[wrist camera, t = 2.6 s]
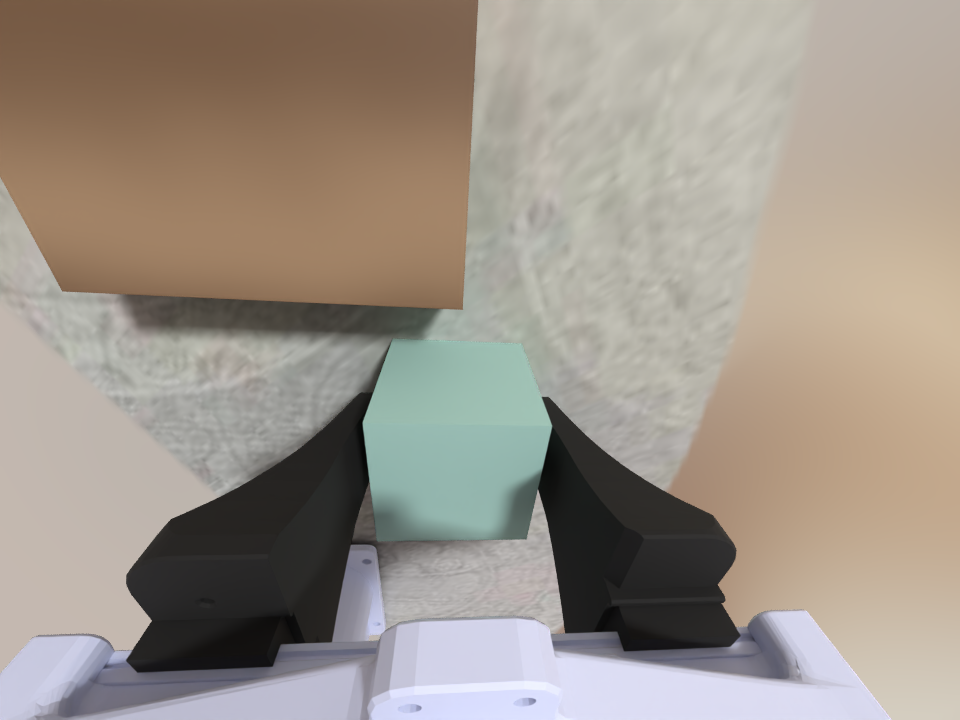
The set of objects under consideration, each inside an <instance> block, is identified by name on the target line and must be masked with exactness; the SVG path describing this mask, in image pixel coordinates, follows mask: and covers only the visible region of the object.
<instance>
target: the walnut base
mask: <svg viewBox="0 0 960 720" xmlns="http://www.w3.org/2000/svg"><path fill="white" fill-rule="evenodd" d="M477 12H478V0H0V177H1V179H2V181H3V183H4V184H5V186H6V188H7V190H8V192H9V194H10V196H11V197H12V199H13V201H14V203H15V205H16V207H17V208H18V210H19V212H20V214H21V216H22V218H23V219H24V221H25V223H26V225H27V227H28V229H29V231H30V232H31V234H32V236H33V238H34V240H35V242H36V243H37V245H38V247H39V249H40V251H41V253H42V255H43V256H44V258H45V260H46V262H47V264H48V266H49V267H50V269H51V271H52V273H53V275H54V277H55V278H56V280H57V282H58V284H59V286H60V288H61V290H62V291H66V292H88V293H110V294H132V295H154V296H176V297H197V298H219V299H241V300H263V301H285V302H307V303H329V304H350V305H372V306H394V307H416V308H438V309H460V310H463V291H464V271H465V251H466V231H467V211H468V191H469V171H470V152H471V132H472V112H473V92H474V72H475V52H476V32H477Z"/></svg>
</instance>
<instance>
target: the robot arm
mask: <svg viewBox="0 0 960 720" xmlns="http://www.w3.org/2000/svg"><path fill="white" fill-rule="evenodd" d="M372 395H373V393H360V394H358V395H357V396H356V397H355V398H354V399H353V400H352V401H351V402H350V403H349V404H348V405H347V406H346V407H345V408H344V409H343V410H342V411H341V412H340V413H339V414H338V415H337V416H336V417H335V418H334V419H333V420H332V421H331V422H330V423H329V424H328V425H327V426H326V427H325V428H324V429H322V430H321V431H320V432H319V433H318V434H317V435H315V436H314V437H313V438H312V439H311V440H310V441H308V442H307V443H306V444H305V445H303V446H302V447H301V448H300V449H298V450H297V451H296V452H294V453H293V454H291V455H290V456H289V457H287V458H286V459H284V460H283V461H281V462H280V463H278V464H277V465H275V466H274V467H272V468H270V469H269V470H267V471H266V472H264V473H262V474H261V475H259V476H257V477H256V478H254V479H253V480H251V481H249V482H247V483H245V484H244V485H242V486H240V487H238V488H236V489H234V490H232V491H230V492H229V493H227V494H225V495H223V496H221V497H219V498H217V499H215V500H213V501H211V502H209V503H206V504H204V505H202V506H200V507H197V508H195V509H193V510H191V511H189V512H186V513H184V514H182V515H180V516H177V517H175V518H173V519H171V520H170V521H169V522H168V523H167V524H166V525H165V527H164V528H163V529H162V530H161V531H160V532H159V534H158V535H157V536H156V537H155V539H154V540H153V541H152V542H151V544H150V545H149V546H148V547H147V549H146V550H145V551H144V552H143V554H142V555H141V556H140V557H139V559H138V560H137V561H136V563H135V564H134V565H133V566H132V568H131V569H130V571H129V572H128V573H127V576H126V584H127V587H128V589H129V591H130V593H131V595H132V596H133V597H134V598H135V600H136V601H137V602H138V603H139V605H140V606H141V607H142V608H143V610H144V611H145V612H146V614H147V615H148V616H149V617H150V618H151V620H152V622H151V623H150V625H149V626H148V628H147V629H146V631H145V632H144V634H143V635H142V637H141V638H140V640H139V641H138V643H137V644H136V646H135V647H134V649H133V650H119V651H114V649H113V647H112V645H111V644H110V642H109V641H108V640H106V639H105V638H103V637H101V636H98V635H94V634H59V635H38V636H36V637H33V638H31V640H30V641H29V642H28V643H27V644H26V645H25V646H24V647H23V649H22V650H21V651H20V652H19V653H18V654H17V655H16V657H14V659H13V660H12V661H11V662H10V663H9V664H8V665H7V666H6V668H5V669H4V670H3V671H2V672H1V673H0V720H891V718H890V717H889V716H888V714H887V713H886V712H885V710H884V709H883V708H882V707H881V706H880V704H879V703H878V702H877V700H876V699H875V698H874V696H873V695H872V694H871V693H870V691H869V690H868V689H867V688H866V686H865V685H864V684H863V682H862V681H861V680H860V679H859V677H858V676H857V675H856V673H855V672H854V671H853V670H852V668H851V667H850V666H849V665H848V663H847V662H846V661H845V659H844V658H843V657H842V656H841V654H840V653H839V652H838V650H837V649H836V648H835V647H834V645H833V644H832V643H831V642H830V640H829V639H828V638H827V637H826V635H825V634H824V633H823V631H822V630H821V629H820V627H819V626H818V625H817V624H816V623H815V621H814V620H813V618H812V617H811V616H810V615H809V613H808V612H807V611H805V610H802V609H800V610H771V611H764V612H761V613H759V614H757V615H756V616H754V617H753V618H752V619H751V621H750V622H749V624H748V627H735V625H734V623H733V622H732V620H731V619H730V617H729V615H728V613H727V612H726V610H725V609H724V607H723V605H722V604H721V603H724V602H725V596H724V594H723V593H722V591H721V590H720V588H719V586H718V583H719V582H720V581H721V579H722V578H723V577H724V575H725V574H726V573H727V571H728V570H729V569H730V567H731V566H732V564H733V562H734V560H735V557H736V548H735V546H734V544H733V542H732V541H731V539H730V538H729V537H728V535H727V534H726V532H725V531H724V530H723V528H722V527H721V526H720V524H719V523H718V521H717V520H716V519H715V518H714V516H713V515H711V514H709V513H707V512H705V511H703V510H701V509H699V508H697V507H694V506H692V505H690V504H688V503H686V502H684V501H682V500H680V499H678V498H675V497H674V496H672V495H670V494H669V493H667V492H665V491H663V490H661V489H659V488H658V487H656V486H654V485H653V484H651V483H649V482H647V481H646V480H644V479H643V478H641V477H640V476H638V475H637V474H635V473H633V472H632V471H630V470H629V469H627V468H626V467H625V466H623V465H622V464H620V463H619V462H618V461H616V460H615V459H614V458H612V457H611V456H610V455H608V454H607V453H606V452H605V451H603V450H602V449H601V448H600V447H599V446H598V445H596V444H595V443H594V442H593V441H592V440H591V439H590V438H588V437H587V436H586V435H585V434H584V433H583V432H582V431H581V430H580V429H579V428H578V427H577V426H576V425H575V424H574V423H573V422H572V421H571V420H570V419H569V418H568V417H567V416H566V415H565V414H564V413H563V412H562V411H561V410H560V409H559V407H558V406H557V405H556V404H555V403H554V402H553V401H552V400H551V399H550V398H549V397H542V400H543V402H544V405H545V408H546V411H547V413H548V416H549V419H550V421H551V424H552V429H551V434H550V438H549V442H548V447H547V451H546V456H545V460H544V464H543V469H542V473H541V477H540V482H539V486H538V490H539V494H540V497H541V500H542V504H543V507H544V510H545V514H546V518H547V522H548V528H549V533H550V538H551V544H552V549H553V555H554V561H555V567H556V573H557V579H558V586H559V592H560V599H561V606H562V613H563V620H564V628H565V634H550V630H549V627H548V626H546V625H545V624H544V623H542V622H540V621H538V620H536V619H535V618H532V617H523V616H488V617H458V618H427V619H416V620H410V621H403V622H399V623H398V624H396V625H394V626H392V627H390V628H388V629H387V630H385V629H386V620H385V612H384V605H383V597H382V589H381V581H380V573H379V565H378V557H377V550H376V548H375V547H374V546H372V545H351V542H352V537H353V533H354V528H355V524H356V520H357V517H358V513H359V510H360V507H361V504H362V501H363V498H364V495H365V492H366V489H367V486H368V483H369V472H368V463H367V455H366V447H365V438H364V430H363V421H364V418H365V415H366V412H367V409H368V407H369V404H370V401H371V398H372ZM379 634H381V637H380V639H379V641H368V640H369V635H379Z"/></svg>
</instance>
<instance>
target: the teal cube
mask: <svg viewBox="0 0 960 720" xmlns="http://www.w3.org/2000/svg"><path fill="white" fill-rule="evenodd" d="M551 429H552V424H551V421H550V419H549V416H548V413H547V411H546V408H545V405H544V402H543V400H542V397H541V394H540V392H539V389H538V386H537V383H536V381H535V378H534V375H533V373H532V370H531V367H530V365H529V362H528V359H527V356H526V354H525V351H524V348H523V346H522V344H516V343H491V342H466V341H440V340H415V339H392V342H391V345H390V348H389V351H388V353H387V356H386V359H385V362H384V365H383V367H382V370H381V373H380V376H379V379H378V381H377V384H376V387H375V390H374V393H373V395H372V398H371V401H370V404H369V407H368V409H367V412H366V415H365V418H364V421H363V430H364V438H365V447H366V455H367V463H368V472H369V480H370V488H371V497H372V505H373V514H374V522H375V530H376V539H377V541H440V540H513V539H527V534H528V530H529V525H530V521H531V517H532V512H533V508H534V504H535V499H536V495H537V490H538V486H539V482H540V477H541V473H542V469H543V464H544V460H545V456H546V451H547V447H548V442H549V438H550V434H551Z"/></svg>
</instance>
